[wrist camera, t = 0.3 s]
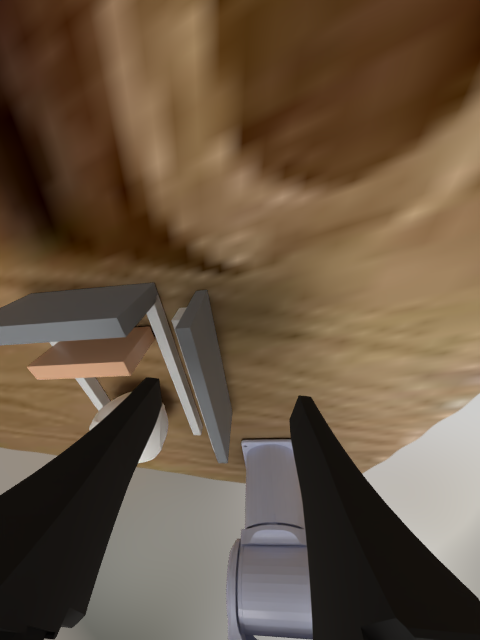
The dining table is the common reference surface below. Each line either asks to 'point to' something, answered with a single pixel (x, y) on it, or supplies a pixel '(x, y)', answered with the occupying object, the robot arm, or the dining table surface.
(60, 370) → the tan rectangular box
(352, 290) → the dining table surface
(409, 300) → the dining table surface
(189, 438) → the dining table surface
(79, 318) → the rail mount
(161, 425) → the white rounded piece
